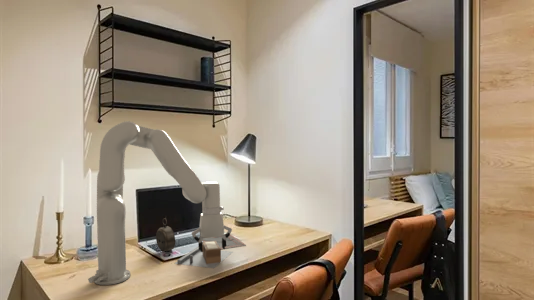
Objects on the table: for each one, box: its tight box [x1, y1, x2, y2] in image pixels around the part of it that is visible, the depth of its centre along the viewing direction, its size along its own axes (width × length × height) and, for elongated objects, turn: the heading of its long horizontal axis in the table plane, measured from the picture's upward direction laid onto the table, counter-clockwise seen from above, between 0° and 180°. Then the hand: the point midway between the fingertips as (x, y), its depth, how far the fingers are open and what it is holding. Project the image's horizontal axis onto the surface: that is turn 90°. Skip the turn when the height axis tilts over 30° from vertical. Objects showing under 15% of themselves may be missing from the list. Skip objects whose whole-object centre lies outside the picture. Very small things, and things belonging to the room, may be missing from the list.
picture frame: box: [202, 233, 246, 251], centre depth 167 cm, size 16×2×22 cm
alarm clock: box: [155, 217, 176, 252], centre depth 154 cm, size 11×5×16 cm, turn 45°
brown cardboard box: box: [202, 241, 222, 264], centre depth 144 cm, size 12×6×6 cm, turn 19°
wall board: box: [174, 246, 233, 269], centre depth 145 cm, size 20×18×4 cm
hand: (212, 249), depth 145 cm, fingers open, 9 cm apart
